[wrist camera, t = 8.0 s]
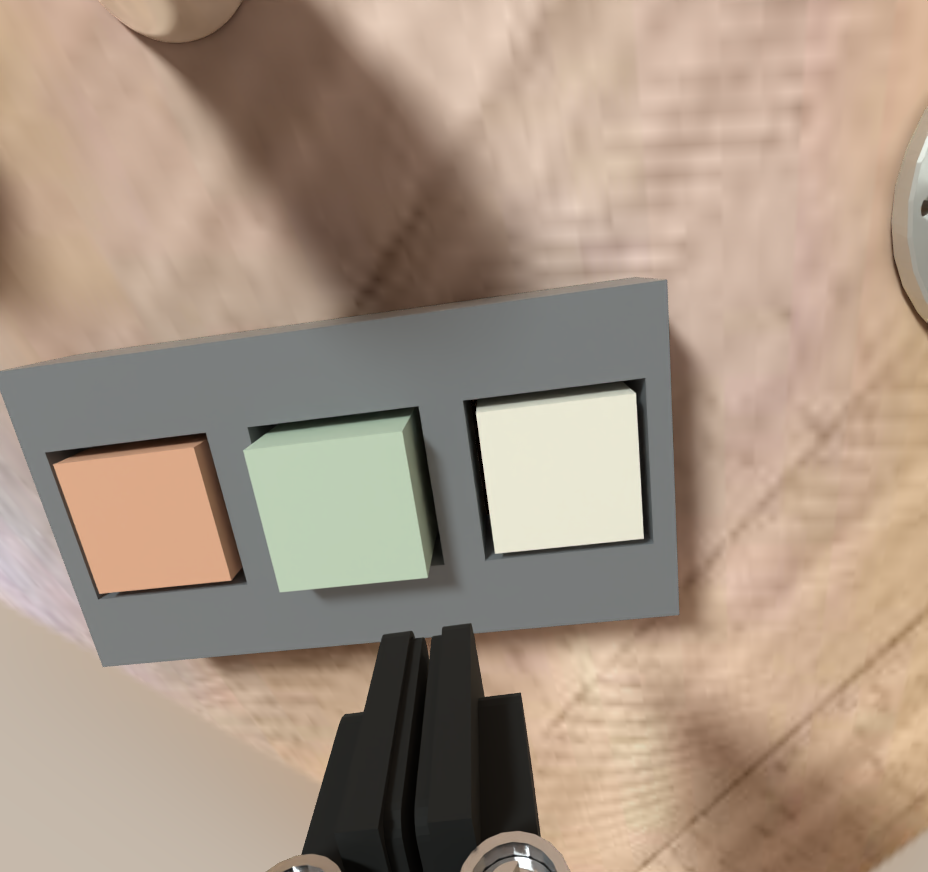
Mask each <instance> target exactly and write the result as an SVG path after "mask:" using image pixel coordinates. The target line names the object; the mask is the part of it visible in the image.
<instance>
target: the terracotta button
mask: <svg viewBox="0 0 928 872" xmlns="http://www.w3.org/2000/svg"><path fill="white" fill-rule="evenodd" d="M53 466H54V469H55V471H56V474H57V477H58V480H59V482H60V485H61V488H62V491H63V494H64V496H65V499H66V502H67V505H68V508H69V510H70V513H71V516H72V519H73V521H74V524H75V527H76V530H77V533H78V535H79V538H80V541H81V544H82V547H83V549H84V552H85V555H86V558H87V560H88V563H89V566H90V569H91V572H92V574H93V577H94V580H95V583H96V586H97V588H98V591H99V594H103V593H113V592H123V591H132V590H142V589H152V588H162V587H172V586H182V585H192V584H202V583H211V582H221V581H231V580H232V579H233V578H234V577H235V575H236V574H237V573H238V572H239V571H240V569H241V568H242V567H243V566H242V562H241V559H240V555H239V551H238V548H237V544H236V540H235V537H234V533H233V530H232V526H231V522H230V519H229V515H228V511H227V508H226V504H225V500H224V497H223V493H222V490H221V486H220V482H219V479H218V475H217V471H216V468H215V464H214V460H213V457H212V453H211V450H210V446H209V442H208V439H207V435H206V433H198V434H190V435H182V436H174V437H166V438H158V439H150V440H141V441H133V442H125V443H117V444H109V445H101V446H93V447H91V448H89V449H86V450H84V451H82V452H80V453H77V454H75V455H73V456H71V457H69V458H66V459H64V460H62V461H60V462H58V463H55V464H53Z"/></svg>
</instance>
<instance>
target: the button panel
mask: <svg viewBox="0 0 928 872" xmlns="http://www.w3.org/2000/svg"><path fill="white" fill-rule="evenodd" d="M617 381H622V382H624V383H625V384H626V385H627V386H628V387H629V388H630V389H631V390H633V391H634V392H635V393H636V404H637V423H638V441H639V460H640V478H641V497H642V515H643V534H644V539H636V540H626V541H616V542H606V543H597V544H587V545H577V546H567V547H557V548H547V549H537V550H527V551H518V552H508V553H498V554H495V549H494V542H493V535H492V527H491V520H490V514H488V515H486V509H485V502H484V494H483V487H482V480H481V472H480V465H479V458H478V451H477V443H476V436H475V429H474V421H473V414H472V407H471V400H472V399H480V398H488V397H496V396H504V395H512V394H520V393H528V392H536V391H544V390H552V389H560V388H568V387H576V386H584V385H593V384H601V383H609V382H617ZM0 392H1V394H2V397H3V400H4V402H5V405H6V408H7V410H8V413H9V416H10V418H11V421H12V424H13V427H14V429H15V432H16V435H17V437H18V440H19V443H20V445H21V448H22V451H23V453H24V456H25V459H26V461H27V464H28V467H29V470H30V472H31V475H32V478H33V480H34V483H35V486H36V488H37V491H38V494H39V496H40V499H41V502H42V504H43V507H44V510H45V513H46V515H47V518H48V521H49V523H50V526H51V529H52V531H53V534H54V537H55V539H56V542H57V545H58V547H59V550H60V553H61V556H62V558H63V561H64V564H65V566H66V569H67V572H68V574H69V577H70V580H71V582H72V585H73V588H74V590H75V593H76V596H77V599H78V601H79V604H80V607H81V609H82V612H83V615H84V617H85V620H86V623H87V625H88V628H89V631H90V633H91V636H92V639H93V642H94V644H95V647H96V650H97V652H98V655H99V658H100V660H101V663H102V666H103V667H107V666H118V665H129V664H140V663H151V662H162V661H174V660H185V659H196V658H207V657H218V656H229V655H240V654H251V653H262V652H274V651H285V650H296V649H307V648H318V647H329V646H340V645H351V644H362V643H374V642H381V638H382V636H383V635H384V634H390V633H397V632H405V631H413V633H414V635H415V638H421V637H424V638H429V637H432V636H437V635H442V627H444V626H451V625H459V624H467V623H471V624H472V627H473V633H485V632H496V631H507V630H518V629H529V628H540V627H551V626H562V625H574V624H585V623H596V622H607V621H618V620H629V619H640V618H651V617H662V616H674V615H679V592H678V564H677V537H676V509H675V482H674V454H673V427H672V399H671V372H670V344H669V316H668V289H667V280H666V279H653V278H640V277H633V278H626V279H619V280H612V281H605V282H597V283H590V284H583V285H576V286H569V287H561V288H554V289H547V290H540V291H533V292H525V293H518V294H511V295H504V296H496V297H489V298H482V299H475V300H468V301H460V302H453V303H446V304H439V305H432V306H424V307H417V308H410V309H403V310H396V311H388V312H381V313H374V314H367V315H359V316H352V317H345V318H338V319H331V320H323V321H316V322H309V323H302V324H295V325H287V326H280V327H273V328H266V329H259V330H251V331H244V332H237V333H230V334H222V335H215V336H208V337H201V338H194V339H186V340H179V341H172V342H165V343H158V344H150V345H143V346H136V347H129V348H122V349H114V350H107V351H100V352H93V353H85V354H78V355H73V356H68V357H63V358H58V359H54V360H49V361H44V362H40V363H35V364H30V365H26V366H21V367H16V368H12V369H7V370H2V371H0ZM415 406H419V412H420V418H421V424H422V430H423V436H424V442H425V448H426V454H427V461H428V467H429V473H430V479H431V485H432V491H433V497H434V503H435V509H436V515H437V522H438V530H437V535H436V540H435V545H434V550H433V554H432V559H431V564H430V569H429V574H428V578H421V579H410V580H400V581H390V582H380V583H370V584H360V585H350V586H340V587H329V588H319V589H309V590H299V591H289V592H280V591H279V588H278V584H277V580H276V576H275V572H274V568H273V564H272V560H271V557H270V553H269V549H268V545H267V541H266V537H265V533H264V529H263V526H262V522H261V518H260V514H259V510H258V506H257V502H256V499H255V495H254V491H253V487H252V483H251V479H250V475H249V471H248V468H247V464H246V460H245V456H244V452H243V450H244V449H246V448H247V447H248V446H250V445H251V444H252V443H254V442H255V441H257V440H258V439H259V438H261V437H262V436H263V435H265V434H266V433H267V432H269V431H270V430H271V429H273V428H274V427H275V426H277V425H278V424H279V423H286V422H295V421H303V420H311V419H319V418H327V417H335V416H343V415H351V414H359V413H367V412H375V411H383V410H391V409H399V408H407V407H415ZM198 433H206V435H207V439H208V442H209V446H210V450H211V453H212V457H213V460H214V464H215V468H216V471H217V475H218V479H219V482H220V486H221V490H222V493H223V497H224V500H225V504H226V508H227V511H228V515H229V519H230V522H231V526H232V530H233V533H234V537H235V540H236V544H237V548H238V551H239V555H240V559H241V562H242V566H243V567H242V568H241V569H240V571H239V572H238V573H237V574H236V575H235V577H234V578H233V579H232V580H231V581H221V582H211V583H202V584H192V585H182V586H172V587H162V588H152V589H142V590H132V591H123V592H113V593H103V594H99V591H98V588H97V586H96V583H95V580H94V577H93V574H92V572H91V569H90V566H89V563H88V560H87V558H86V555H85V552H84V549H83V547H82V544H81V541H80V538H79V535H78V533H77V530H76V527H75V524H74V521H73V519H72V516H71V513H70V510H69V508H68V505H67V502H66V499H65V496H64V494H63V491H62V488H61V485H60V482H59V480H58V477H57V474H56V471H55V469H54V466H53V464H55V463H58V462H60V461H62V460H64V459H66V458H69V457H71V456H73V455H75V454H77V453H80V452H82V451H84V450H86V449H89V448H91V447H93V446H101V445H109V444H117V443H125V442H133V441H141V440H150V439H158V438H166V437H174V436H182V435H190V434H198Z"/></svg>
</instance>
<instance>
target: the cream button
mask: <svg viewBox="0 0 928 872" xmlns="http://www.w3.org/2000/svg"><path fill="white" fill-rule="evenodd" d="M476 417H477V424H478V431H479V439H480V446H481V453H482V461H483V468H484V476H485V483H486V490H487V498H488V505H489V513H490V520H491V527H492V535H493V542H494V549H495V554H498V553H508V552H518V551H527V550H537V549H547V548H557V547H567V546H577V545H587V544H597V543H606V542H616V541H626V540H636V539H644V534H643V515H642V497H641V478H640V460H639V441H638V423H637V404H636V393H635V392H634V391H633V390H631V389H630V388H629V387H628V386H627V385H626V384H625V383H624V382H622V381H617V382H609V383H601V384H593V385H584V386H576V387H568V388H560V389H552V390H544V391H536V392H528V393H520V394H512V395H504V396H496V397H488V398H480V399H477V408H476Z"/></svg>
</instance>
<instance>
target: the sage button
mask: <svg viewBox="0 0 928 872" xmlns="http://www.w3.org/2000/svg"><path fill="white" fill-rule="evenodd" d="M243 452H244V456H245V460H246V464H247V468H248V471H249V475H250V479H251V483H252V487H253V491H254V495H255V499H256V502H257V506H258V510H259V514H260V518H261V522H262V526H263V529H264V533H265V537H266V541H267V545H268V549H269V553H270V557H271V560H272V564H273V568H274V572H275V576H276V580H277V584H278V588H279V591H280V592H289V591H299V590H309V589H319V588H329V587H340V586H350V585H360V584H370V583H380V582H390V581H400V580H410V579H421V578H428V574H429V569H430V564H431V559H432V554H433V550H434V545H435V540H436V535H437V530H438V522H437V515H436V509H435V503H434V497H433V491H432V485H431V479H430V473H429V467H428V461H427V454H426V448H425V442H424V436H423V430H422V424H421V418H420V412H419V406H415V407H407V408H399V409H391V410H383V411H375V412H367V413H359V414H351V415H343V416H335V417H327V418H319V419H311V420H303V421H295V422H286V423H279V424H278V425H277V426H275V427H274V428H273V429H271V430H270V431H269V432H267V433H266V434H265V435H263V436H262V437H261V438H259V439H258V440H257V441H255V442H254V443H252V444H251V445H250V446H248V447H247V448H246V449H244V450H243Z"/></svg>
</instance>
